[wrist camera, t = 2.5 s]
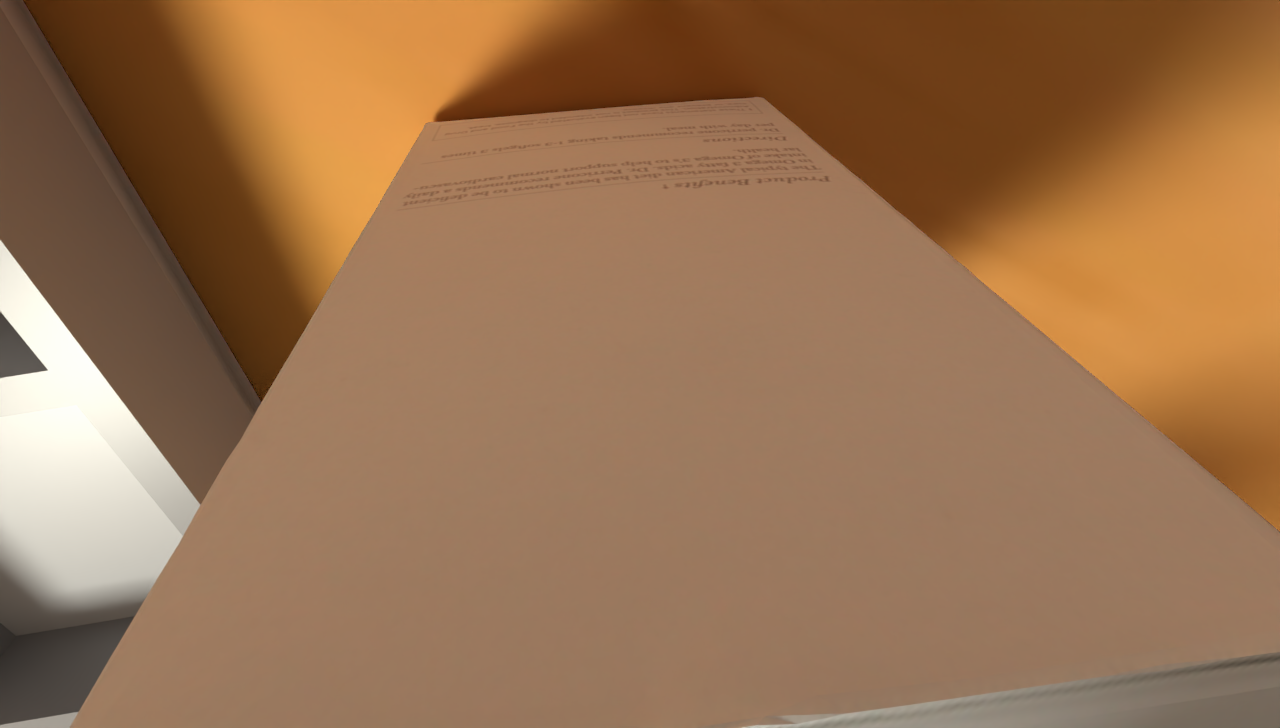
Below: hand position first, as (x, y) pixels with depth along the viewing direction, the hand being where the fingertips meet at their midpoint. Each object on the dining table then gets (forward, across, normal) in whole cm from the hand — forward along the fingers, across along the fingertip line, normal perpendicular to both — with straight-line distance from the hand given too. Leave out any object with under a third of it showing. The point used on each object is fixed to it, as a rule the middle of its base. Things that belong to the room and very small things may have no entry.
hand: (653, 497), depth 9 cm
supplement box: (+8, 0, 0) cm, 8 cm away
